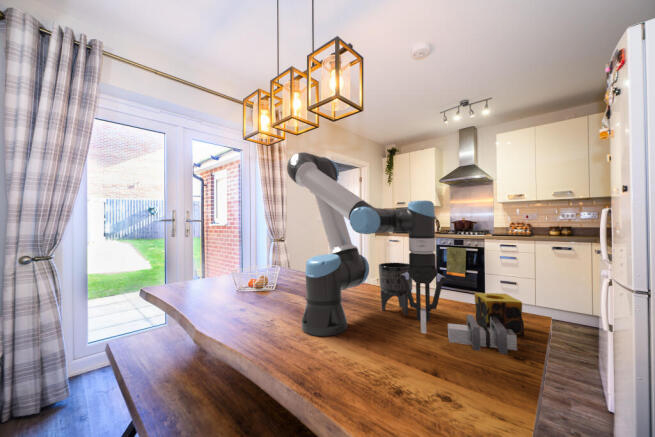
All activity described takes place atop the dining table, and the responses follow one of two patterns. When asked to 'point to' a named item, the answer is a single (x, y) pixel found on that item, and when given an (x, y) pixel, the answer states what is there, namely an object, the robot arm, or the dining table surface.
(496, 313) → the candle
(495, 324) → the collar
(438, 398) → the dining table surface
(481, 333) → the banded white block
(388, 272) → the planter
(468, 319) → the collar
